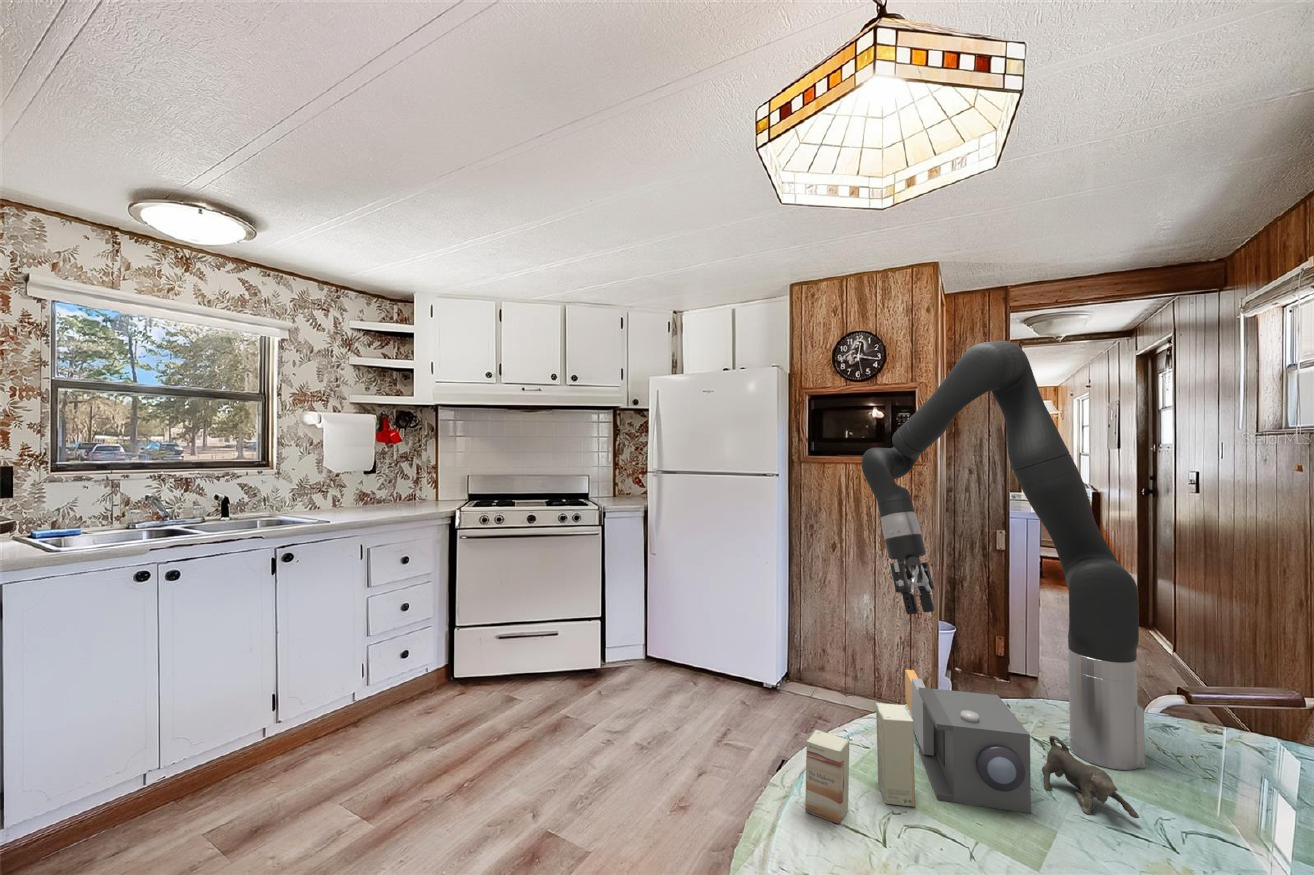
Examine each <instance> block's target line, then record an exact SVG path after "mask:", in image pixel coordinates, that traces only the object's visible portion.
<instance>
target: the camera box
mask: <svg viewBox="0 0 1314 875" xmlns="http://www.w3.org/2000/svg"><path fill="white" fill-rule="evenodd" d="M918 692H919V694H920V696H921V698H922V700H923V702H924V705H925V707H926V709H927V711H928V713H929V715H930V717H931V719H932V721H933V726H934V756H933V755H925V754H923V752H922V750H921V747H918V754H919V756H920V760H921V761H922V764H923V767H924V769H925V773H926V774H927V777H928V779H929V783H930V785H931V787H932V790H933V792H934V796H935V797H936V800H937V801H942V802H943V801H944V802H950V803H955V804H956V803H957V804H963V805H970V806H977V807H985V808H991V809H997V810H998V809H999V810H1005V811H1012V812H1013V811H1014V812H1020V813H1025V814H1032V794H1031V793H1032V792H1031V790H1032V788H1031V785H1032V784H1031V783H1032V782H1031V779H1032V778H1031V734H1030V732H1028V730H1027V729H1026V728H1025V727H1024V725H1023V723H1021V722H1020V721H1019V719H1018V718H1017V717H1016V716H1015V715H1014V713H1013V711H1011V709H1010V708H1009V707H1008V705H1007V704H1006V703H1005V702H1004V701H1003V699H1002V698H1001V697H1000V696H999V695H998V694H990V693H980V692H969V691H960V690H959V691H958V690H950V689H949V690H948V689H938V688H931V687H930V688H929V687H928V688H927V687H926V688H920V687H918Z"/></svg>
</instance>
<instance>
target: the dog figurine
mask: <svg viewBox="0 0 1314 875" xmlns="http://www.w3.org/2000/svg"><path fill="white" fill-rule="evenodd" d="M1048 739H1049V744H1050V748H1049V749H1048V750H1049V751H1048V753H1047V756H1046V763H1045V765H1043V766H1041V770H1042V775H1043V776H1042V777H1043V779H1042V780H1043V788H1044V790H1045V791H1047V792H1051V791H1053V790H1052V785H1051V774H1054V775H1055V776H1056V777H1058V778H1061V777H1063V776H1064V777H1065V779H1066V780H1067V781H1068V783H1070V784H1071V785H1072V786H1074V788H1076V789H1077V790H1078V791H1079V792H1077V791H1075V796H1076V799H1077V801H1078V803H1079V804H1080V806H1081V811H1082V812H1083V813H1085V814H1087V815H1092V810H1093V809H1094V806H1095V805H1094V799H1097V801H1098V802H1100V803H1102V804H1105V803H1106V802H1107V801H1108V798H1111V799H1114V800H1115V801H1117V802H1118V803H1119V804H1120V805H1121V806H1122V808H1123V810H1124V811H1126V812H1127V813H1128V815H1129V816H1130V817H1131V818H1133V819H1139V818H1140V815H1139V814H1138V813H1137V812H1136V810H1135V809H1134V808H1133V806H1132V805H1131V804H1130V803H1129V802H1128V801H1127V800H1125V798H1124V797H1122V796H1121V795H1120V794H1119V793H1118V792H1117V791H1118V788H1117V786H1116V785H1115V784H1114V782H1113V778H1112V777H1111V776H1110V774H1108V773H1107V772H1106V771H1105V770H1103V769H1101V768H1099V767H1097V766H1095V765H1092V764H1091V765H1090V764H1086V763H1084V762H1082V761H1080V760H1078V759H1076V758H1075V757H1074V756H1073V754H1071V752H1070V749H1069V748H1068V746H1067V745H1066V744H1065V743H1064V742H1063V741H1062V740H1061V739H1060V738H1059V737H1057V736H1055V735H1049V738H1048ZM1056 742H1057V743H1058V744H1059V745H1058V744H1057V743H1056ZM1080 792H1081V793H1080Z"/></svg>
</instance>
